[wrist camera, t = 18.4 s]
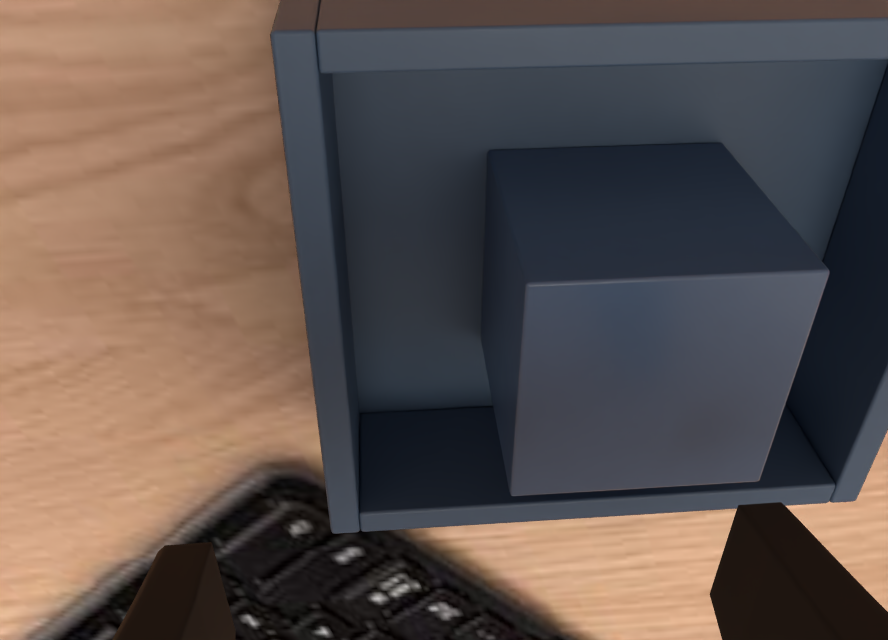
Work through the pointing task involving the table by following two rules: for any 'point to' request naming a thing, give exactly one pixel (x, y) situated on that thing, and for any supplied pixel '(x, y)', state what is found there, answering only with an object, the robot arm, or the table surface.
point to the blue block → (638, 316)
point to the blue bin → (563, 126)
